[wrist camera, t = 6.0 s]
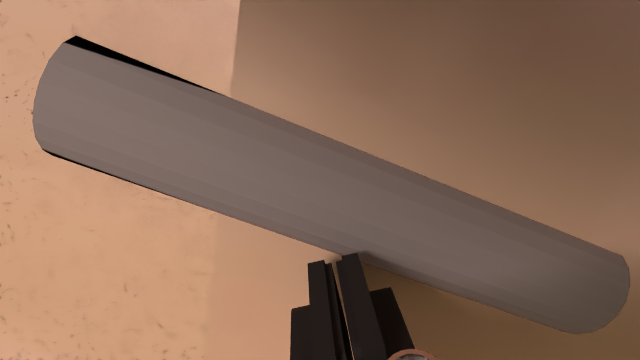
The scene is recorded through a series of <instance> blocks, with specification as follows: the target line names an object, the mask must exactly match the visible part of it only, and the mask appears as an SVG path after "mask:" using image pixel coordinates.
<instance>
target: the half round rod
mask: <svg viewBox="0 0 640 360" xmlns="http://www.w3.org/2000/svg"><path fill="white" fill-rule="evenodd" d="M33 127H34V133H35V138H36V140H37V141H38V143H39V145H40V146H41V148H42V150H44V151H45V152H47V153H49V154H50V155H52V156H55V157H58V158H61V159H64V160H67V161H70V162H73V163H75V164H78V165H81V166H84V167H87V168H90V169H93V170H96V171H99V172H102V173H105V174H107V175H110V176H113V177H116V178H119V179H122V180H125V181H128V182H131V183H134V184H136V185H139V186H142V187H145V188H148V189H151V190H154V191H157V192H160V193H163V194H166V195H168V196H171V197H174V198H177V199H180V200H183V201H186V202H189V203H192V204H195V205H197V206H200V207H203V208H206V209H209V210H212V211H215V212H218V213H221V214H224V215H226V216H229V217H232V218H235V219H238V220H241V221H244V222H247V223H250V224H253V225H256V226H258V227H261V228H264V229H267V230H270V231H273V232H276V233H279V234H282V235H285V236H287V237H290V238H293V239H296V240H299V241H302V242H305V243H308V244H311V245H314V246H317V247H319V248H322V249H325V250H328V251H331V252H334V253H337V254H340V255H343V256H344V255H348V254H353V253H358V256H359V259H360V262H363V263H366V264H369V265H372V266H375V267H378V268H380V269H383V270H386V271H389V272H392V273H395V274H398V275H401V276H404V277H407V278H409V279H412V280H415V281H418V282H421V283H424V284H427V285H430V286H433V287H436V288H439V289H441V290H444V291H447V292H450V293H453V294H456V295H459V296H462V297H465V298H468V299H470V300H473V301H476V302H479V303H482V304H485V305H488V306H491V307H494V308H497V309H500V310H502V311H505V312H508V313H511V314H514V315H517V316H520V317H523V318H526V319H529V320H531V321H534V322H537V323H540V324H543V325H546V326H549V327H552V328H555V329H558V330H560V331H563V332H568V333H574V334H581V333H589V332H593V331H595V330H597V329H600V328H602V327H604V326H606V325H607V324H608V323H609V322H610V321H611V320H612V319H614V318H615V317H616V316H617V315H618V313H619V312H620V310H621V308H622V307H623V305H624V303H625V302H626V299H627V295H628V291H629V287H630V278H629V268H628V266H627V264H626V262H625V260H624V258H623V256H620V255H618V254H616V253H613V252H611V251H608V250H606V249H603V248H601V247H598V246H596V245H593V244H591V243H588V242H586V241H583V240H581V239H578V238H576V237H573V236H571V235H569V234H566V233H564V232H561V231H559V230H556V229H554V228H551V227H549V226H546V225H544V224H541V223H539V222H536V221H534V220H531V219H529V218H526V217H524V216H522V215H519V214H517V213H514V212H512V211H509V210H507V209H504V208H502V207H499V206H497V205H494V204H492V203H489V202H487V201H484V200H482V199H479V198H477V197H474V196H472V195H470V194H467V193H465V192H462V191H460V190H457V189H455V188H452V187H450V186H447V185H445V184H442V183H440V182H437V181H435V180H432V179H430V178H427V177H425V176H423V175H420V174H418V173H415V172H413V171H410V170H408V169H405V168H403V167H400V166H398V165H395V164H393V163H390V162H388V161H385V160H383V159H380V158H378V157H376V156H373V155H371V154H368V153H366V152H363V151H361V150H358V149H356V148H353V147H351V146H348V145H346V144H343V143H341V142H338V141H336V140H333V139H331V138H328V137H326V136H324V135H321V134H319V133H316V132H314V131H311V130H309V129H306V128H304V127H301V126H299V125H296V124H294V123H291V122H289V121H286V120H284V119H281V118H279V117H277V116H274V115H272V114H269V113H267V112H264V111H262V110H259V109H257V108H254V107H252V106H249V105H247V104H244V103H242V102H239V101H237V100H234V99H232V98H229V97H227V96H225V95H222V94H220V93H217V92H215V91H212V90H210V89H207V88H205V87H202V86H200V85H197V84H195V83H192V82H190V81H187V80H185V79H182V78H180V77H178V76H175V75H173V74H170V73H168V72H165V71H163V70H160V69H158V68H155V67H153V66H150V65H148V64H145V63H143V62H140V61H138V60H135V59H133V58H131V57H128V56H126V55H123V54H121V53H118V52H116V51H113V50H111V49H108V48H106V47H103V46H101V45H98V44H96V43H93V42H91V41H88V40H86V39H83V38H81V37H79V36H74V37H72V38H70V39H69V40H67V41H65V42H63V43H62V44H61V45H60V47H59V48H58V49H57V50H56V52H55V53H54V54H53V55H52V57H51V58H50V59H49V61H48V63H47V65H46V68H45V70H44V72H43V74H42V76H41V78H40V81H39V84H38V88H37V92H36V96H35V100H34V109H33Z"/></svg>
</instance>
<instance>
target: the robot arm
mask: <svg viewBox="0 0 640 360" xmlns="http://www.w3.org/2000/svg"><path fill="white" fill-rule="evenodd" d="M336 264H337V269H338V275H339V280H340V286H341V291H342V297H343V303H344V308H345V314H346V319H347V325H348V330H349V334H348V330H347V325H346V321H345V317H344V313H343V309H342V305H341V301H340V297H339V292H338V288H337V284H336V280H335V276H334V272H333V268H332V264H331V263H328V264H325V262H324V260H321V261H317V262H312V263H308V280H309V301H310V305H307V306H302V307H298V308H293V309H292V311H291V347H290V360H353V356H354V360H438V359H437V358H436V357H435V356H433V355H432V354H430V353H428V352H426V351H423V350H419V349H415V348H414V345H413V343H412V340H411V337H410V335H409V332H408V330H407V327H406V325H405V322H404V319H403V317H402V314H401V312H400V309H399V307H398V304H397V301H396V299H395V296H394V294H393V291H392V289H391V287H389V288H384V289H379V290H375V291H370V292H369V290H368V287H367V283H366V280H365V276H364V273H363V270H362V266H361V263H360V259H359V256H358V253H353V254H348V255H344V256H342V261H337V262H336ZM349 336H350V339H349ZM350 341H351V345H350ZM351 346H352V351H353V356H352V351H351Z"/></svg>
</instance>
